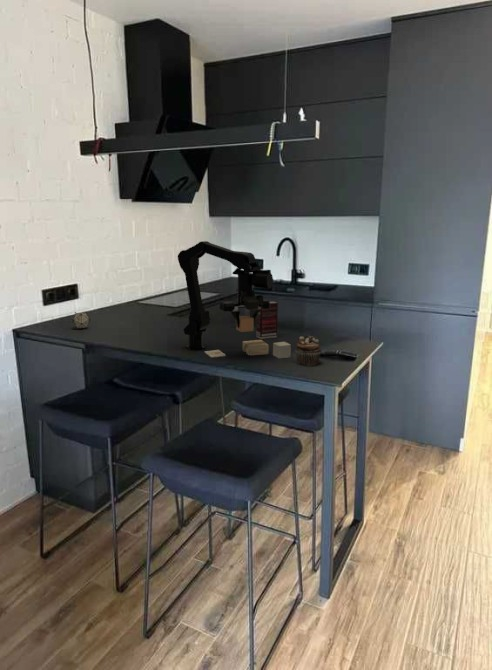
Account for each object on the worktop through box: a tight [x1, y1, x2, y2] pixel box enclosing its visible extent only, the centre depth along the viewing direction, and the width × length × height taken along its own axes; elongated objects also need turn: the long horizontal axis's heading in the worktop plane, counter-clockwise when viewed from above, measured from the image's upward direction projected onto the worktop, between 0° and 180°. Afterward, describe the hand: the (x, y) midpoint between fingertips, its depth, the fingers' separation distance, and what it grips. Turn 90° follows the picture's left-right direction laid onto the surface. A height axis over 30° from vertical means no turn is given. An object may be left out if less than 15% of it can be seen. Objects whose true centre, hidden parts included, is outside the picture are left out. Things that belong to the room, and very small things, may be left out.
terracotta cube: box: [235, 315, 255, 333], centre depth 181 cm, size 5×5×5 cm
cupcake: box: [295, 334, 322, 367], centre depth 175 cm, size 10×10×10 cm
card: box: [203, 349, 227, 358], centre depth 185 cm, size 8×6×1 cm
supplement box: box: [255, 300, 278, 340], centre depth 211 cm, size 9×5×16 cm, turn 113°
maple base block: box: [242, 339, 269, 356], centre depth 189 cm, size 8×8×4 cm
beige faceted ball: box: [71, 311, 91, 330], centre depth 223 cm, size 9×8×10 cm
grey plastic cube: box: [272, 341, 292, 359], centre depth 183 cm, size 5×5×5 cm
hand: (244, 327), depth 182 cm, fingers closed on terracotta cube, 5 cm apart
